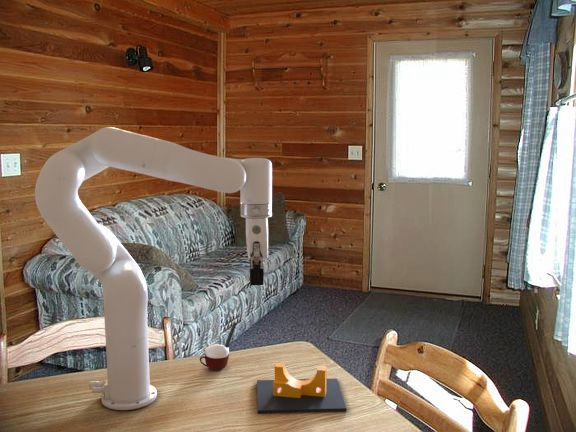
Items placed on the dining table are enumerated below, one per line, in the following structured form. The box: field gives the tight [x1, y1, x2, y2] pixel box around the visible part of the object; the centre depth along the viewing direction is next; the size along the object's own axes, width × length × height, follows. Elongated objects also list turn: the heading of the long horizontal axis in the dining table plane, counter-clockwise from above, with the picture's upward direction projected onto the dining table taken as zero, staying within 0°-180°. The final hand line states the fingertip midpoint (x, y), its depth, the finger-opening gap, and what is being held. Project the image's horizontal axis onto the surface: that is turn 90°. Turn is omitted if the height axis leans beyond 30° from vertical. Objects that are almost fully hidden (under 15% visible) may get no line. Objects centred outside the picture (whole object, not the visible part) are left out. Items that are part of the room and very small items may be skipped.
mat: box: [256, 377, 348, 415], centre depth 147 cm, size 20×16×1 cm
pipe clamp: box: [273, 361, 328, 398], centre depth 146 cm, size 12×4×6 cm, turn 79°
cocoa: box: [199, 320, 238, 371], centre depth 163 cm, size 10×6×12 cm, turn 89°
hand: (256, 279), depth 151 cm, fingers open, 9 cm apart
